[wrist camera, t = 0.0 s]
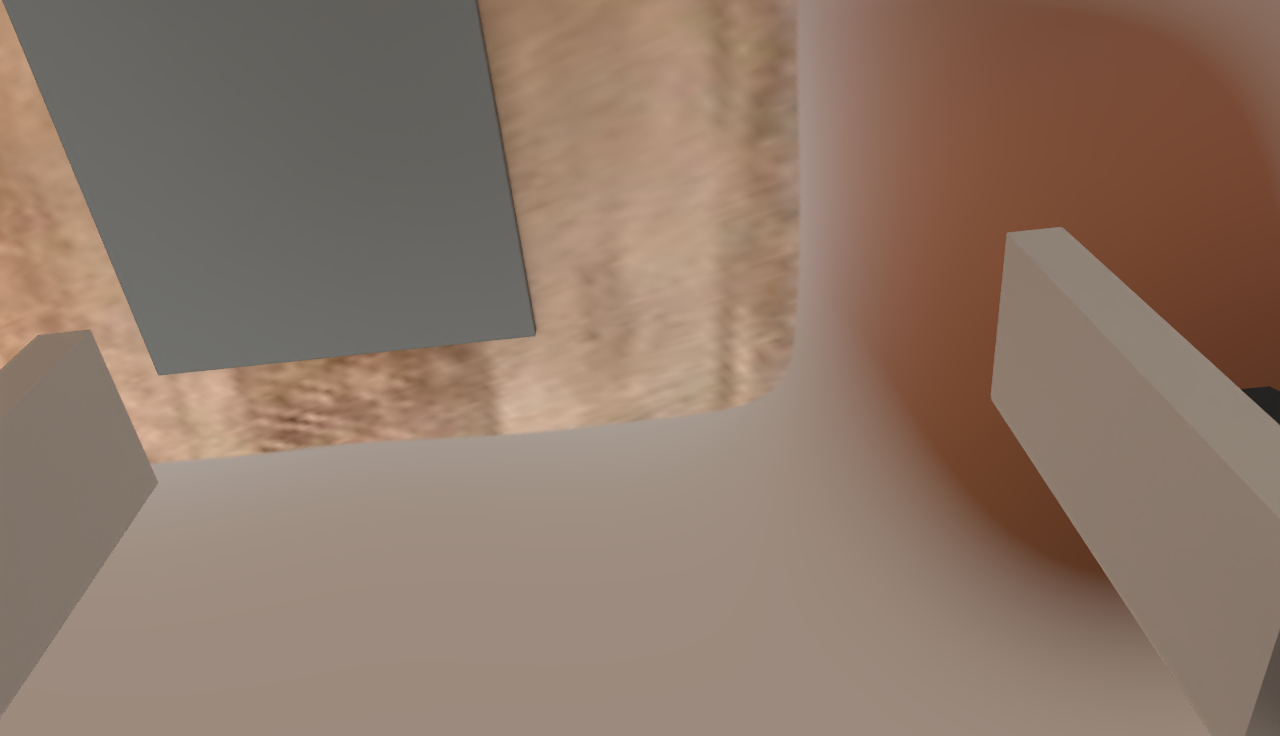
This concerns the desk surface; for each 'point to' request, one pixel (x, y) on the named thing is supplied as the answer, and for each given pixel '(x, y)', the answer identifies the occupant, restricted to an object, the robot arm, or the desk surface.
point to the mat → (287, 172)
